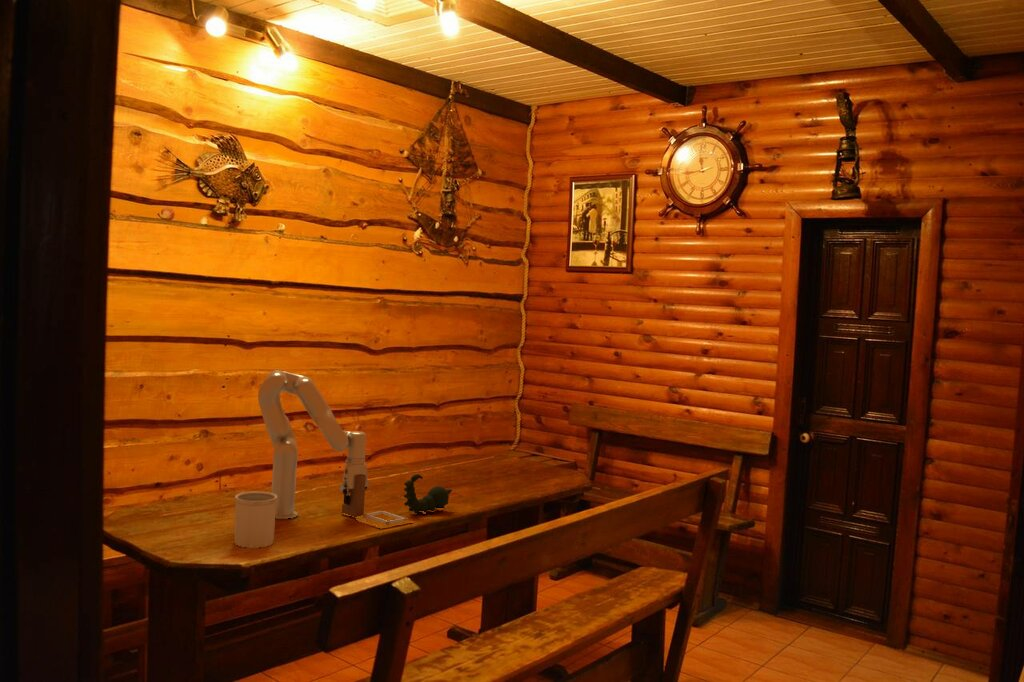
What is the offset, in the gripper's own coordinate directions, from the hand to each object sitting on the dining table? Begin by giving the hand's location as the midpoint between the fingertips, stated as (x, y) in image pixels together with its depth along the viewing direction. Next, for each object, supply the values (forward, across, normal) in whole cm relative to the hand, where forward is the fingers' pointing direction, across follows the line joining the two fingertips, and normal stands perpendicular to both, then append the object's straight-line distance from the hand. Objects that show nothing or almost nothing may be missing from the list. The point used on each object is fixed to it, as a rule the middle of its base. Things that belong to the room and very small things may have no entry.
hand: (353, 502), depth 359 cm
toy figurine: (+6, +31, -13) cm, 34 cm away
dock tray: (+6, +5, -15) cm, 17 cm away
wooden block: (+6, 0, 0) cm, 6 cm away
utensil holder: (+6, -54, -11) cm, 55 cm away
